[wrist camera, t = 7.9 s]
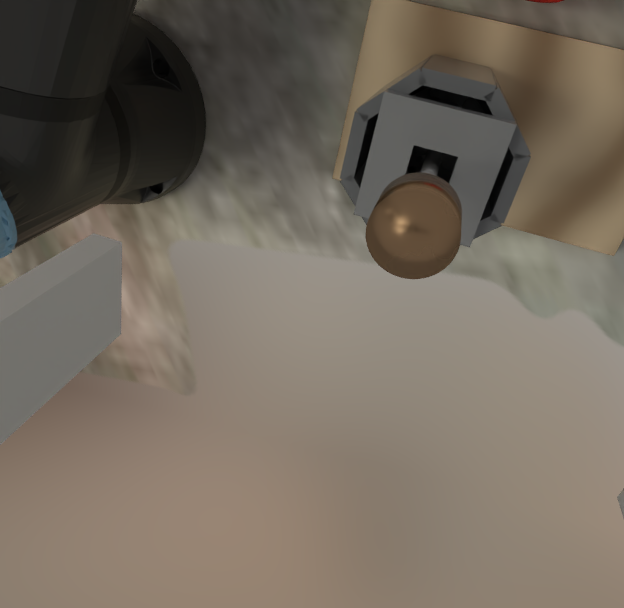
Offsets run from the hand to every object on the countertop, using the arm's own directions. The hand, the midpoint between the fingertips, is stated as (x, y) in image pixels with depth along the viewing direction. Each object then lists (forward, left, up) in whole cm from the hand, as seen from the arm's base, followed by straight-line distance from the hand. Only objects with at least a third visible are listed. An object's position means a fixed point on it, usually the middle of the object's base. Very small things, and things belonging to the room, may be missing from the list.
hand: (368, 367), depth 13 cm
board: (+4, +1, -32) cm, 32 cm away
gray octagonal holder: (0, -1, -31) cm, 31 cm away
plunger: (0, 0, -29) cm, 29 cm away
